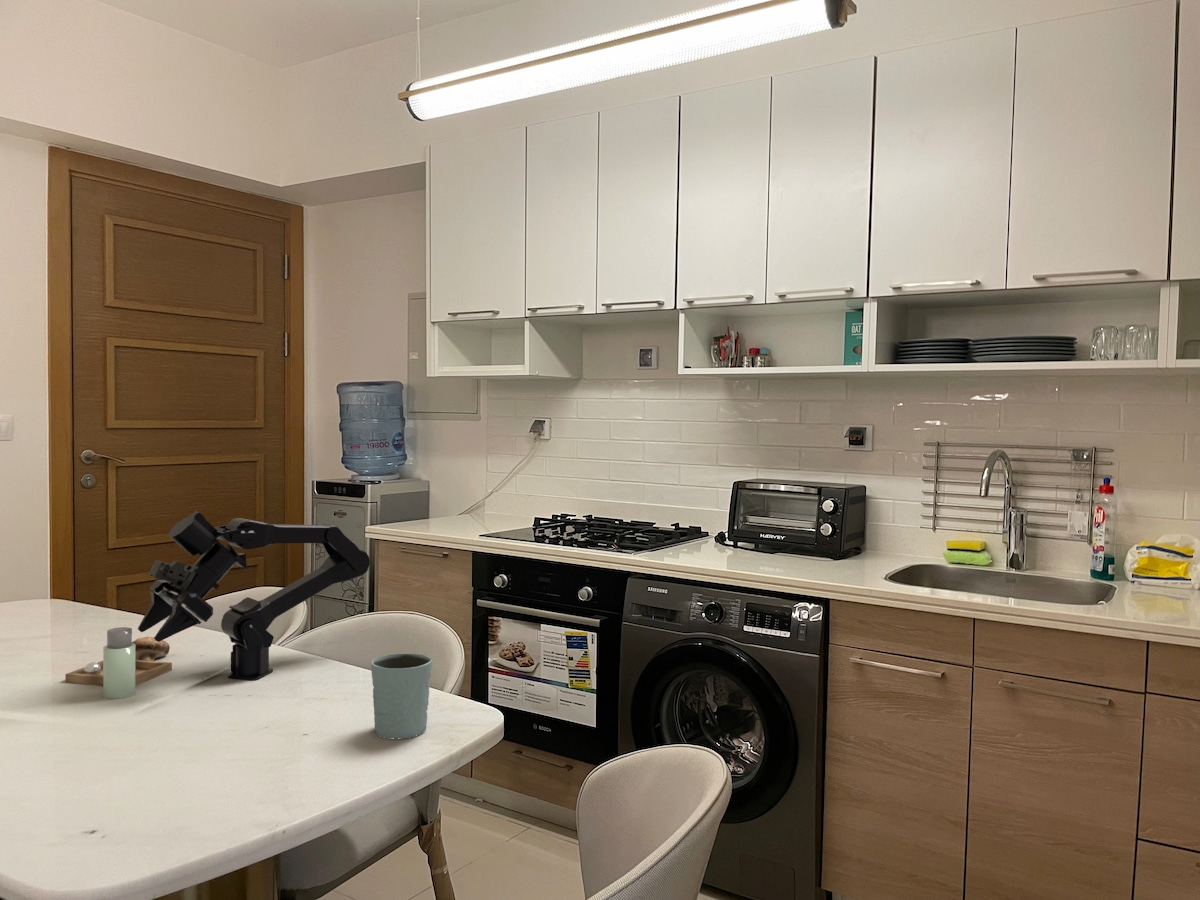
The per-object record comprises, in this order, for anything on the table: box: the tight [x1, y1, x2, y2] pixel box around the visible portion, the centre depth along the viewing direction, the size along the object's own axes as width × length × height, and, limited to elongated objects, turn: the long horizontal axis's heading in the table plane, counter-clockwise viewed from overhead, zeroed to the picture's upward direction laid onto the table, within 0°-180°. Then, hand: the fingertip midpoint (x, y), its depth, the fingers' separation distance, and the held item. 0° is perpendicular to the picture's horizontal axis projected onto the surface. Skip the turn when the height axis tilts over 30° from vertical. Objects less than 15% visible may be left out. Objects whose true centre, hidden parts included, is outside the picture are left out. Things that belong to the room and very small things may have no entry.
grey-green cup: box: [370, 652, 433, 740], centre depth 152 cm, size 10×10×12 cm
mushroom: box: [132, 636, 170, 661], centre depth 188 cm, size 8×8×6 cm
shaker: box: [102, 626, 136, 700], centre depth 165 cm, size 5×5×13 cm
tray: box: [65, 660, 173, 687], centre depth 176 cm, size 14×12×2 cm
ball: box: [83, 661, 102, 675], centre depth 175 cm, size 3×3×3 cm
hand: (147, 635), depth 168 cm, fingers open, 9 cm apart
